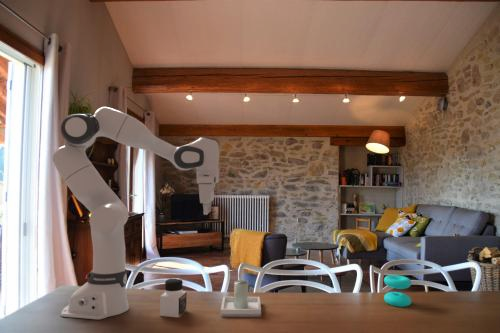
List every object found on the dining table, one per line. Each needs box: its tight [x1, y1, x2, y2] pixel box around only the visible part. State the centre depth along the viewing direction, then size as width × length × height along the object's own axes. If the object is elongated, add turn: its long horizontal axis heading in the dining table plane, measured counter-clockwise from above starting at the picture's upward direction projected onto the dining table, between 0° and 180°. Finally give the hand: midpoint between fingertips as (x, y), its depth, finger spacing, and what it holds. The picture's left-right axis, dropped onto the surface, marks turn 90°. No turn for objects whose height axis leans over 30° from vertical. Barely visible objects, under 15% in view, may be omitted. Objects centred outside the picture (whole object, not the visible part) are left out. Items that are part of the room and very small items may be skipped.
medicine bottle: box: [159, 277, 187, 319], centre depth 133 cm, size 7×7×12 cm
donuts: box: [383, 274, 412, 308], centre depth 146 cm, size 10×10×10 cm
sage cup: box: [233, 279, 249, 309], centre depth 137 cm, size 5×5×9 cm
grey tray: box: [220, 296, 262, 318], centre depth 137 cm, size 14×14×2 cm
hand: (207, 213), depth 149 cm, fingers open, 8 cm apart
